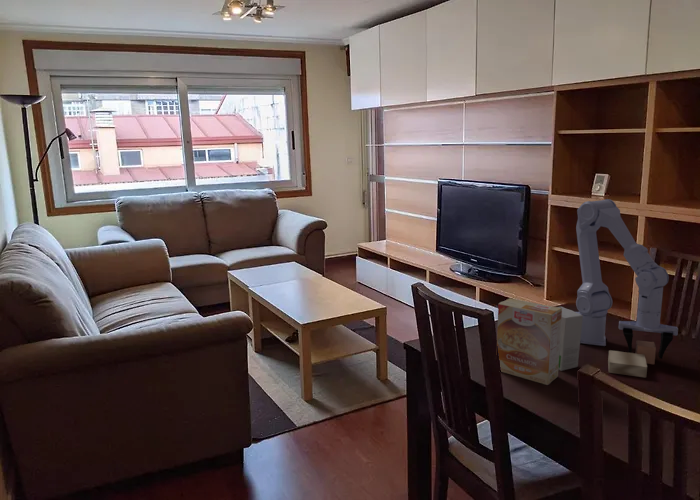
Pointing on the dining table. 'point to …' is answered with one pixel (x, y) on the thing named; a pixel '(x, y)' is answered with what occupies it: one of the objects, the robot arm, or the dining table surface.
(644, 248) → the robot arm
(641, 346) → the terracotta block
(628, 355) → the beech slab
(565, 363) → the skincare box
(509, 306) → the coffeecake box
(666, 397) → the dining table surface
